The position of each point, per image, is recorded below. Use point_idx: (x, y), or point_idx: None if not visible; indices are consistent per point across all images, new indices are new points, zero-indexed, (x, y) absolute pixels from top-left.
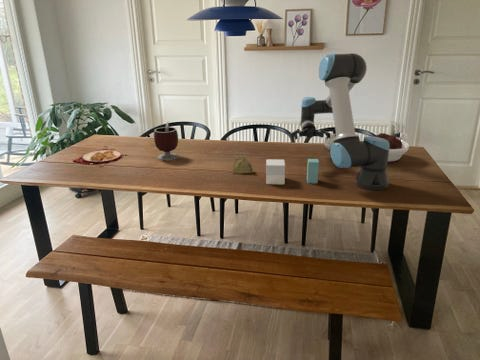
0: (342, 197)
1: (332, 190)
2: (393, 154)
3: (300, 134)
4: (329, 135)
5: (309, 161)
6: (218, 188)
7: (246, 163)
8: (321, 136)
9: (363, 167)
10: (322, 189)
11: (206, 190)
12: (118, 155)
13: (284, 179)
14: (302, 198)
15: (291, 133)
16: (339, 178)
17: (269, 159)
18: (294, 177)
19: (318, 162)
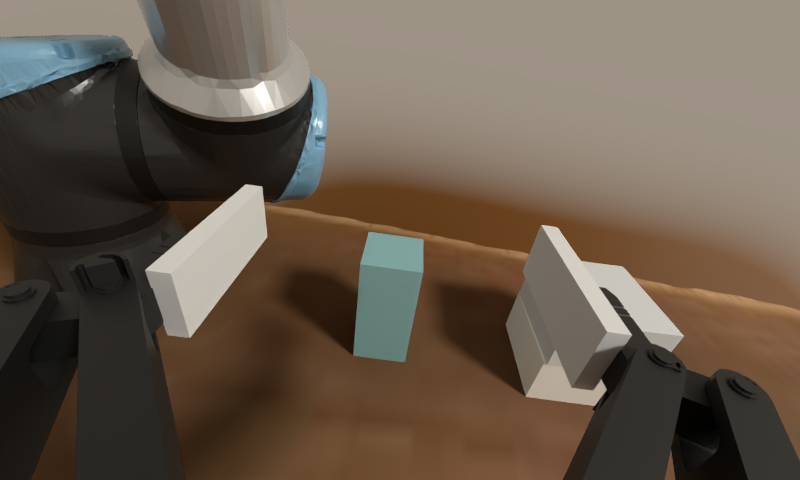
0: (317, 229)
1: (326, 263)
2: None
3: (589, 441)
4: (55, 305)
5: (417, 244)
6: (729, 317)
7: None
8: (166, 388)
9: (167, 201)
10: (359, 273)
11: (751, 309)
12: None
13: (512, 308)
14: (435, 239)
15: (756, 395)
16: (219, 359)
17: (663, 333)
18: (468, 395)
19: (372, 233)
